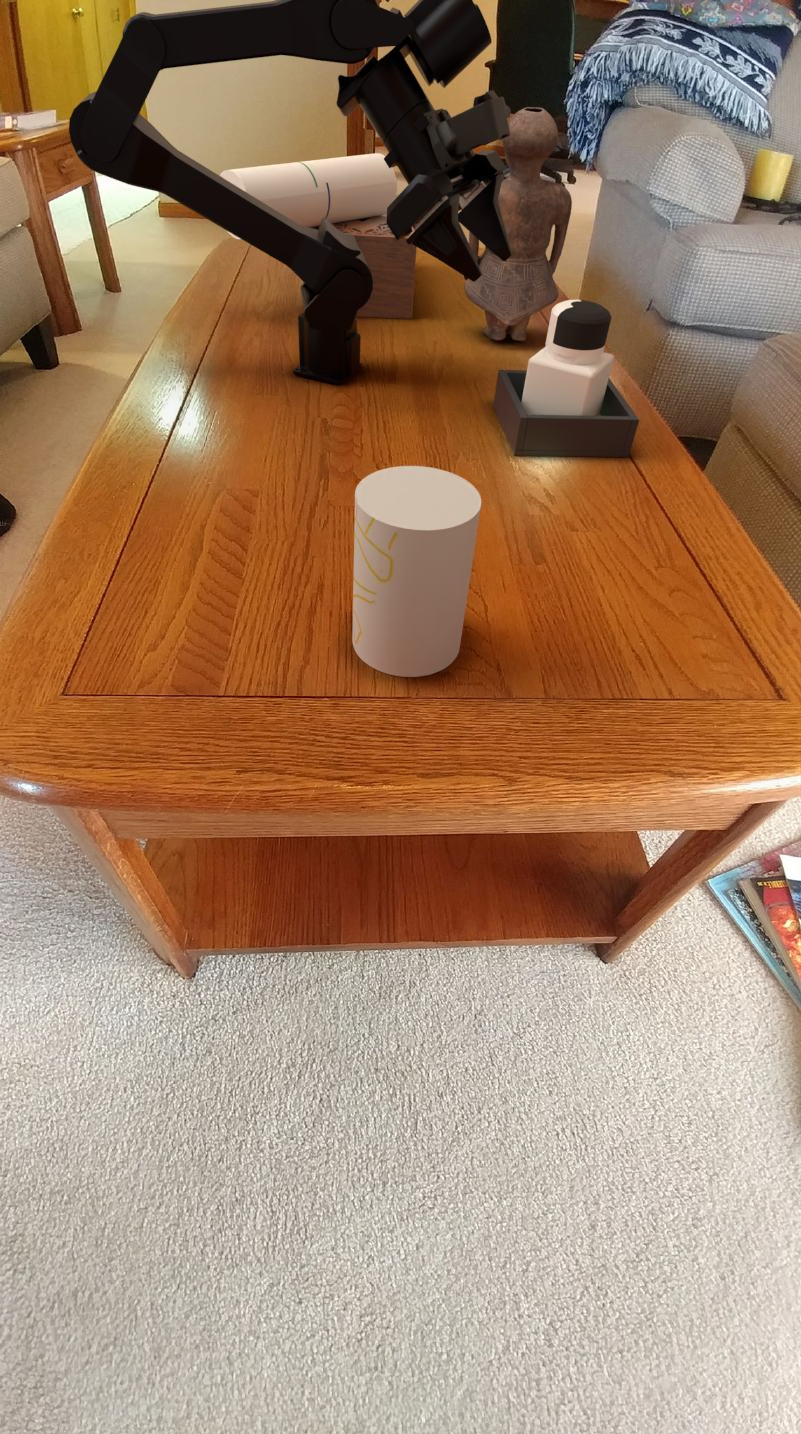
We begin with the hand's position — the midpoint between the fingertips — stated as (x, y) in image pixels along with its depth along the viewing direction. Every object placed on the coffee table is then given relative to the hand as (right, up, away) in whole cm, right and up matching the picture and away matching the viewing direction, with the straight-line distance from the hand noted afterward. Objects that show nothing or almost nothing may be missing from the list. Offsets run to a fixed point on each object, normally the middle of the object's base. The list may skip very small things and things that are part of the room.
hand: (493, 268), depth 80 cm
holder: (+8, -16, +4) cm, 18 cm away
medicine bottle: (+8, -15, +4) cm, 17 cm away
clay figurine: (+5, +5, +25) cm, 25 cm away
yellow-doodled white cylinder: (-9, -42, -23) cm, 49 cm away
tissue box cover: (-16, +18, +36) cm, 44 cm away
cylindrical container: (-31, +15, +13) cm, 37 cm away
